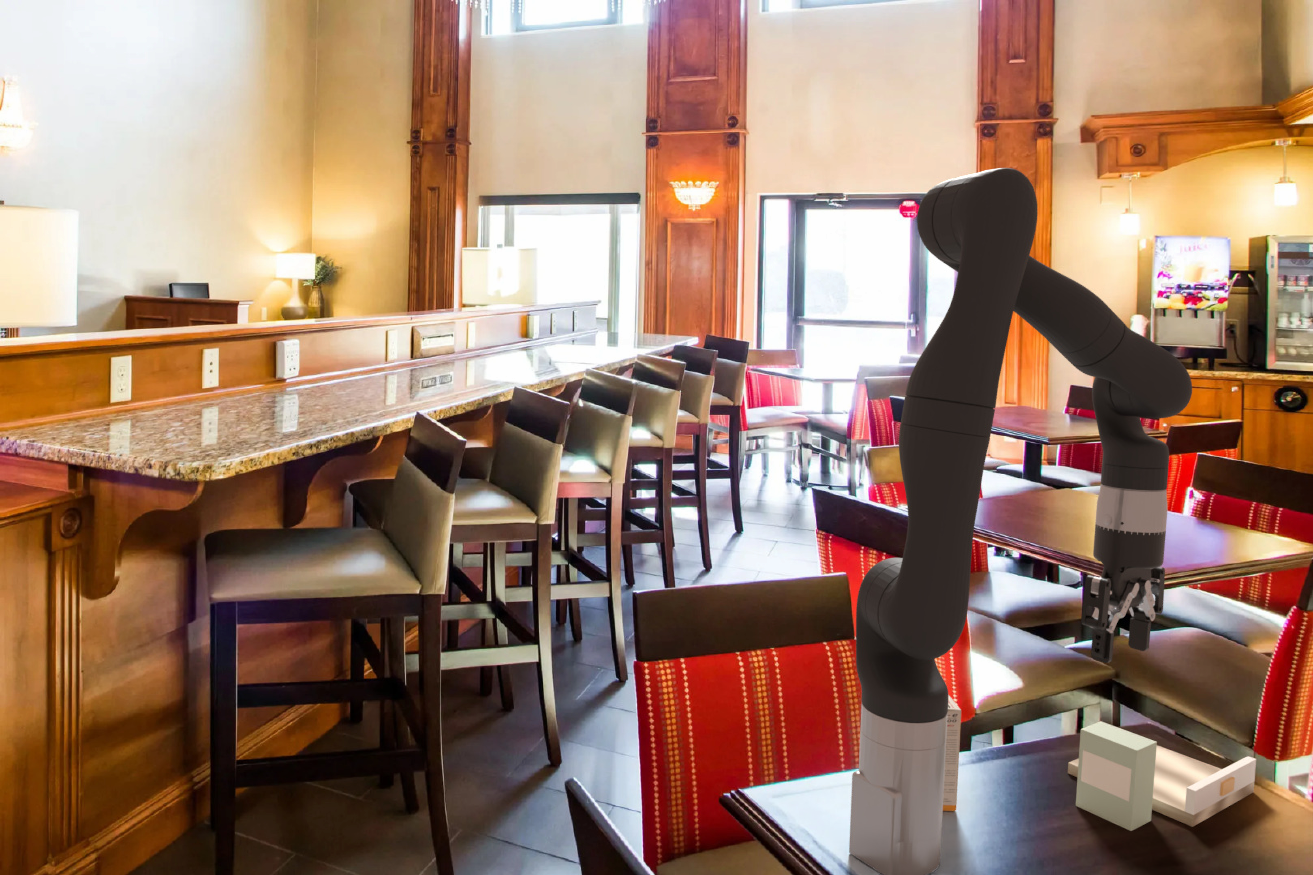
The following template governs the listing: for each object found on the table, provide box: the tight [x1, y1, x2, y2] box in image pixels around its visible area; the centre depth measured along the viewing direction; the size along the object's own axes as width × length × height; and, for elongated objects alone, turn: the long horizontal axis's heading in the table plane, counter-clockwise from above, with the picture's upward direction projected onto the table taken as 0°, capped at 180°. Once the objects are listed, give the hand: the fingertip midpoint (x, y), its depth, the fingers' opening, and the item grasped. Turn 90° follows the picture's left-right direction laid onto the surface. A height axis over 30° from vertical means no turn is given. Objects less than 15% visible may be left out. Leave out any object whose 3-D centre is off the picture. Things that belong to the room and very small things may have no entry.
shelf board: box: [1067, 744, 1257, 828], centre depth 117 cm, size 16×16×4 cm
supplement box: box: [943, 694, 962, 812], centre depth 113 cm, size 8×5×13 cm, turn 179°
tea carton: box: [1075, 720, 1158, 832], centre depth 109 cm, size 5×7×10 cm, turn 34°
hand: (1120, 654), depth 108 cm, fingers open, 8 cm apart
